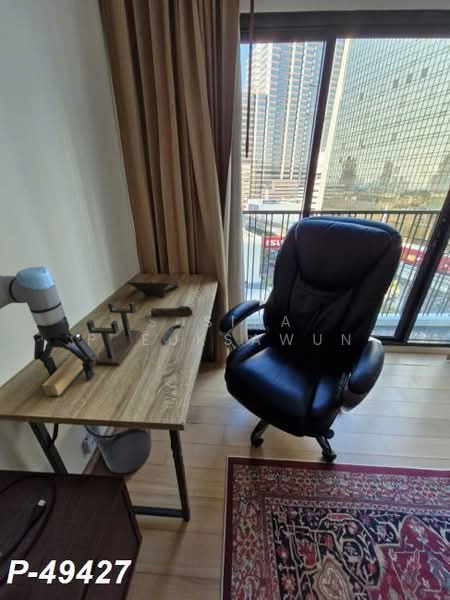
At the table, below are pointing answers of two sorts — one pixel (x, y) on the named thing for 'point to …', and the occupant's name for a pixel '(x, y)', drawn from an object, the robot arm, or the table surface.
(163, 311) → the hand tool
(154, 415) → the table surface
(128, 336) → the tool rack
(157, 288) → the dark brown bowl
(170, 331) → the knife
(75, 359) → the wooden block
